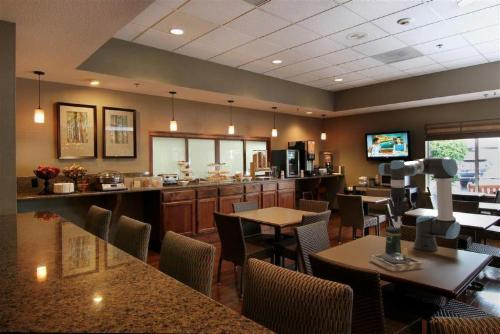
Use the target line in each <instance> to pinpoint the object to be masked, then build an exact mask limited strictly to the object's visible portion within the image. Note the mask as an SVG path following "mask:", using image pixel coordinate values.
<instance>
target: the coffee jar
mask: <svg viewBox="0 0 500 334" xmlns="http://www.w3.org/2000/svg"><path fill="white" fill-rule="evenodd" d="M385 236H386V237H385V251H384V252H385V253H384V254H386V253H400V254H402V245H401V237H402V229H401V227H400V228H398V227H395V226H386V227H385Z"/></svg>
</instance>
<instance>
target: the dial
mask: <svg viewBox="0 0 500 334" xmlns="http://www.w3.org/2000/svg"><path fill="white" fill-rule="evenodd" d="M402 254H403V255H402ZM411 258H412V257H410V256H409V255H408V247H402V253H401V254H396V253H382V259H383V260H384V261H386V262H389V263H391V264H405V263H411Z"/></svg>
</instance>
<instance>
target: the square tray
mask: <svg viewBox="0 0 500 334" xmlns="http://www.w3.org/2000/svg"><path fill="white" fill-rule="evenodd" d="M382 254H383V253H382ZM382 254H381V253H379V254H371V256H370V258H371V259H370V261H371V262H373V263H375V264H377V265H379V266H381V267H383V268H385V269H387V270H389V271H391V272H401V271H402V270H403V271H410V269H411V270H420V269H423V261H420V260H418V259H415V258H413V257H410V258H411V263H405V264H391V263H389V262H386V261H384V260H383V259H382ZM396 254H400V253H396ZM401 254H402V255H403V253H401Z"/></svg>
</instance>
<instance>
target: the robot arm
mask: <svg viewBox="0 0 500 334" xmlns="http://www.w3.org/2000/svg"><path fill="white" fill-rule="evenodd" d="M458 169H459V168H458V163H457V162H456V160H455V159H454V158H452V157H425V158H420V159H414V160H412V161H405V160H392V161H391V162H389V163H387V162H385V163H380V164H379V166H378V174H380V175H382V176H390V197H389V198H387V199H386V202H387V203H388V207H389V212H390V215H391V216H393V220H394V223H395V225H394V227H396V228H400V229H401V222H402V217H403V216H404V215H405V214H406V209H407V205H408V202H409V200H410V199H409V198H407V197H406V195H405V194H406V188H405V186H406V178H405V177H412V176H416V175H417V174H421V175H427V176H428V175H431V176H433V180H435V182H436V183H435V184H436V200H437V201H436V202H437V203H436V204H437V205H436V206H437V216H436V215H420V216H417V217H416V221H415V224H416V227H415V230H416V231H415V232H416V234H415V236H416V237H415V240H414V243H413V248H414V249H416V250H419V251H423V252H437V251H438V250H439V249H438V248H439V246H438V244H437V239H436V237H441V238H445V239H452V240H454V239H456V238H457V237H458V236H459V234H460V231H461V225H460V222H459V221H457V219H456V218H457V217H455V216H454V212H453V210H454V209H453V193H452V192H453V190H452V187H453V186H452V180H453V179H454V178H455V177H456V175H457V174H458Z"/></svg>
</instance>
